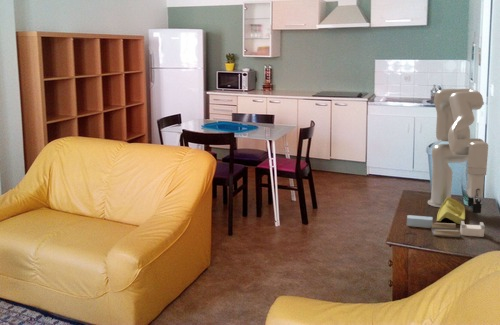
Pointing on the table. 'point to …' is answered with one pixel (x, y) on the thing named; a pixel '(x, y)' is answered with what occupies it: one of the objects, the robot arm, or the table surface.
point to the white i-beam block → (472, 229)
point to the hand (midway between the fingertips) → (474, 209)
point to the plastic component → (451, 211)
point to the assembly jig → (445, 230)
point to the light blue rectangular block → (419, 221)
